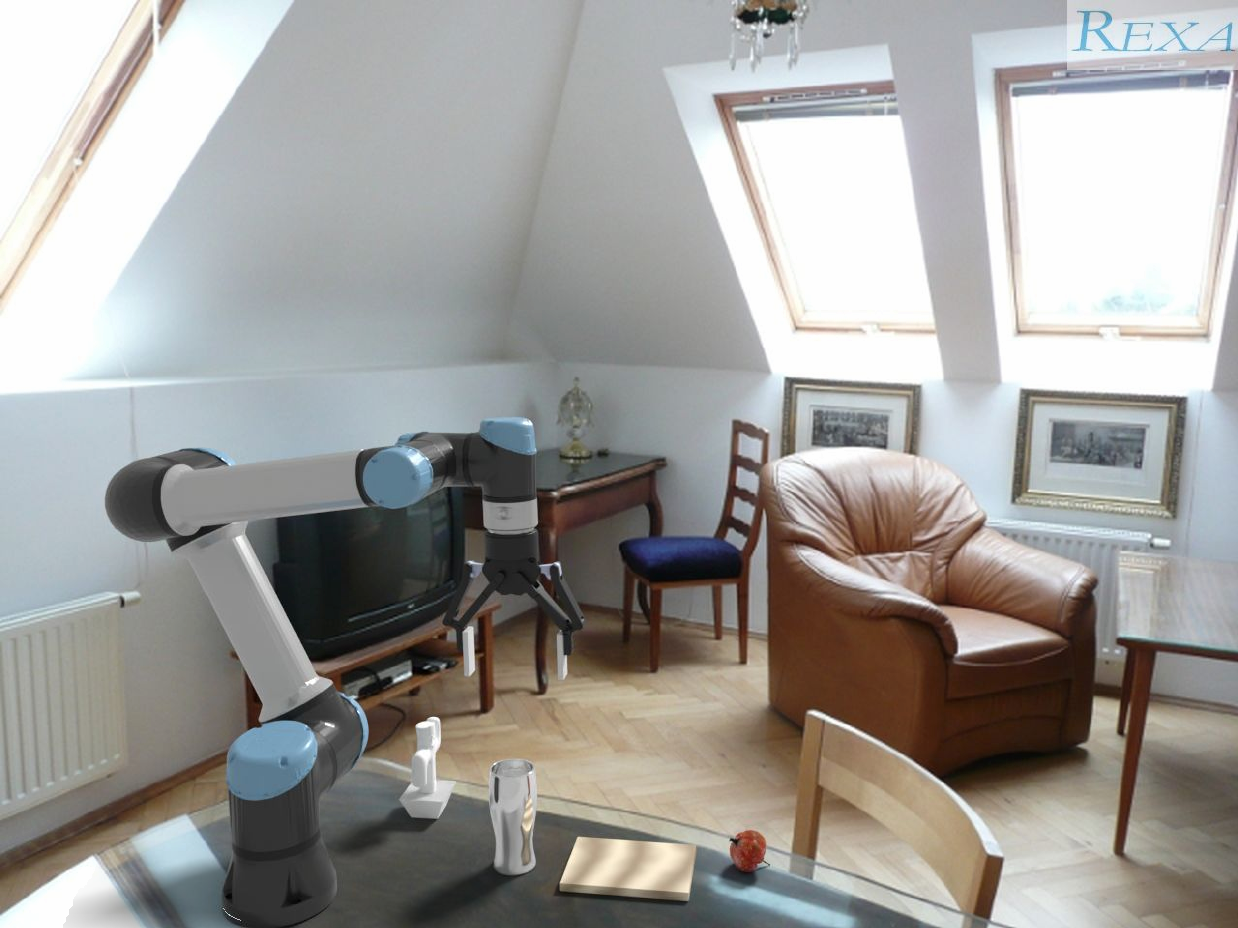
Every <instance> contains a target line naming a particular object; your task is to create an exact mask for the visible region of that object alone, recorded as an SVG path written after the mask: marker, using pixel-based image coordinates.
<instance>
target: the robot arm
mask: <svg viewBox="0 0 1238 928" xmlns="http://www.w3.org/2000/svg"><path fill="white" fill-rule="evenodd" d="M447 487H448V488H450V487H471V488H472V487H473V488H475V487H481V490H482V491H481V492H482V493H481V494H482V511H483V512H482V514H483V527H484V528H486V529H487V530H485V532H484V533H483V542H484V545H483V546H484V562H482V563H481V562H476V561H475V560H474V559H469V560H467V561H466V562H465V563H464V564H463V565H462V571H461V579H460V582H459V583H458V586H457V588H456V590H455V593H454V595H453V597H452V599H451V602H450V604H449V606H448V608H447V611H446V612H445V615H444V617H443V619H442V624H443V626H445V627H451V628H453V629H454V631H455V633H456V635H455V637H456V650H457V652H458V653H463V671H464V672H463V676H464V677H470V676H472V674H473V673H474V672H475V671H476V659H475V657H476V656H475V636H474V626H470V625H469V623H470V622H471V621H472V620H473V618H474V617H475V616H476V615H477V613H479V611H480V610H481V609H482V608H483V606H484V605H485V604H486V603H487V601H488V600H489V599H490V598H491V597H492V595H493V594H494V593H495V592H497V593H498V594H500V596H509V595H513V596H514V595H515V596H522V597H523V595H525V594H527V595H528V596H529V597H530V599H532V600H534V601H535V602H536V604H537V605H538V606H539V607H540V608H541V609H542V611H543V612H544V613H545V614H546V615H547V616H548V618H549V619H550V620H551V621H552V622H553V624H555V626H557V628H558V630H559V631H558V633H557V634H556V650H557V651H556V655H557V657H556V658H557V680H558V681H564V680H565V678H566V676H567V675H568V657H567V656H572V654H573V652H574V647H575V646H574V645H575V644H574V632H576V631H577V632H578V631H581V630H583V628H584V627H585V625H586V623H587V620H586V619H587V618H586V617H585V615H584V613H583V611H582V610H581V608H580V605H579V604H578V602H577V600H576V598H575V596H574V594H573V593H572V590H571V589H570V586H569V585H568V582H567V581H566V579H565V577H564V574H563V565H562V563H561V562H560V561H559V560H556V561H554V562H553V563H547V564H542V563H541V561H540V555H539V551H540V550H539V549H540V547H539V531H538V530H537V528H536V526H537V525H538V523H539V519H538V499H537V498H538V497H537V448H536V439H535V429H534V424H533V422H532V421H531V420H530V419H529V418H527V417H517V416H504V417H500V416H499V417H490V418H489V417H488V418H485V419H483V420H481V421H480V423H479V429H478V431H476V432H468V433H467V432H429V431H420V432H410V433H404V434H401V435H400V436H399V437H398V438H397V442H395V444H393V445H388V446H380V447H372V448H367V449H357V450H349V451H341V452H333V453H324V454H317V455H306V456H300V457H291V458H283V459H274V460H266V461H258V462H250V463H242V464H237V463H236V462H235V461H234V460H233V459H232V458H231V457H230V456H229V455H227V454H225V453H224V452H222V451H220V450H216V449H213V448H210V447H185V448H180V449H178V450H175V451H170V452H167V453H163V454H159V455H155V456H151V457H147V458H142V459H138V460H137V459H136V460H134V461H132V462H130V463H128V464H126V465H125V466H123V467H122V468H120V469H119V470H118V471H117V472H116V473H115V474H114V475H113V477H112V478H111V480H110V481H109V483H108V485H107V487H106V490H105V496H104V508H105V512H106V516H107V517H108V521H110V523H111V525H112V526H113V527H114V528H115V529H116V530H117V531H118V532H119V533H120V534H121V535H123V536H125V537H127V538H128V539H130V540H134V541H137V542H141V543H155V542H156V543H157V542H162V541H165V542H166V543H167V546H168V548H169V549H170V551H171V553H172V555H174V556H177V557H181V558H183V559H186V560H187V561H188V562H189V564H190V565H191V568H192V569H193V571H194V573H195V576H196V577H197V580H198V581H199V583H200V585H201V588H203V589H202V590H203V591H204V593H205V594H206V597H207V598H208V601H209V603H210V604H211V607H212V608H213V610H214V612H215V614H216V616H217V618H218V620H219V621H220V624H221V626H222V628H223V629H224V631H225V634H226V635H227V637H228V639H229V641H230V643H231V645H232V647H233V649H234V651H235V653H236V655H237V656H238V658H239V660H240V663H241V664H242V665H241V666H242V667H243V669H244V671H245V672H246V674H247V676H248V678H249V680H250V682H251V684H252V686H253V688H254V689H255V692H256V693H257V695H258V697H259V700H260V702H261V703H262V708H261V711H260V714H259V717H258V721H259V723H260V725H261V726H260V727H253V728H251V729H249V730H246V731H245V732H244V733H242V734H240V736H238V737H237V738H236V739H235V740H234V741H233V742H232V744H231V745H230V747H229V749H228V751H227V755H226V769H225V782H226V786H227V798H228V808H229V809H228V811H229V822H230V834H231V836H230V837H231V846H232V847H231V853H232V854H231V856H230V862H229V864H228V869H227V872H226V875H225V879H224V882H223V886H222V890H221V906H222V905H223V906H222V913H223V916H224V918H225V919H227V920H228V921H229V922H230V923H231V924H234V925H236V926H240V927H242V928H283V927H286V926H291V925H295V924H298V923H301V922H303V921H305V920H308V919H310V918H312V917H314V916H316V915H317V914H319V913H320V912H322V911H324V910H325V909H326V908H327V907H328V906H329V905H330V904H331V903H332V902H333V901H334V899H335V898H336V895H337V893H338V884H337V883H338V881H337V880H338V879H337V872H336V868H335V866H334V863H333V862H332V860H331V858H330V855H329V852H328V850H327V848H326V845H325V843H324V841H323V838H322V832H321V831H322V829H321V813H320V812H321V811H320V809H321V808H320V803H321V802H320V801H321V799H322V798H323V797H324V796H325V795H326V794H327V793H328V792H329V791H330V790H331V789H332V788H333V787H334V786H335V785H336V784H337V783H338V782H339V780H340V779H342V778H343V776H345V775H347V774H348V773H349V772H350V771H351V770H353V768H354V767H355V766H356V764H357V763H358V761H359V760H360V757H362V755H363V753H364V752H365V749H366V746H367V744H368V740H369V724H368V720H367V716H366V713H365V712H364V710H363V708H362V706H361V705H360V704H359V703H358V702H357V700H355V699H354V698H353V697H352V696H350V697H349V696H346V694H345V693H343V692H339V691H338V690H337V688H336V686H335V683H334V682H333V681H332V680H331V679H329V678H325V677H323V676H320V675H318V673H316V670H315V668H314V666H313V665H312V662H311V660H310V659H309V656H308V655H307V653H306V650H305V649H304V647H303V645H302V643H301V641H300V638H299V637H298V635H297V633H296V631H295V629H294V627H293V625H292V623H291V622H290V619H289V617H288V616H287V613H286V611H285V609H284V608H283V605H282V604H281V601H280V600H279V598H278V595H277V594H276V592H275V590H274V588H273V586H272V584H271V582H270V579H269V578H268V575H267V574H266V572H265V570H264V568H263V567H262V564H261V563H260V560H259V558H258V556H257V555H256V552H255V551H254V549H253V547H252V544H251V543H250V541H249V539H248V537H247V535H246V529H247V526H248V523H249V522H250V521H257V520H267V519H275V518H283V517H292V516H301V515H302V516H303V515H311V514H318V513H327V512H335V511H344V510H352V509H353V510H354V509H362V508H371V507H372V508H373V507H383V508H387V509H391V510H392V509H393V510H395V509H401V508H405V507H409V506H414V505H415V504H417V503H418V502H421V500H422V499H424V498H426V497H428V496H430V495H432V494H433V493H435V492H437V491H439V490H441V489H443V488H447ZM480 573H482V574H483V576H484V577H485V579H487V581H488V582H489V583H488V584H487V585H486V587H485V588H484V589H483V590H482V591H481V592H480V594H479V595H478V597H477V598H476V599H475V600H474V601H473V602H472V604H471V605H470V606H469V608H468V609H467V610H466V611H465V612H464V614H463V615H461V617H459V616H458V615H459V612H460V610H461V608H462V607H463V604H464V601H465V600H466V598H467V596H468V593H469V591H470V589H471V587H472V585H473V582H474V579H476V578H477V577H478V576H479V575H480ZM542 574H544V575H545V577H546V579H547V580H549V581H551V585H552V587H553V590H554V591H555V593H556V594H557V597H558V598H559V600H560V602H561V604H562V607H564V610H565V612H564V611H563V609H561V607H560V606H559V605H558V604H557V603H556V601H555V600H554V599H553V597H551V596H550V594H548V592H547V591H546V589H545V588H544V586H543V585H542V583H541V582H540V581H539V580H538V579H539V578H540V576H541V575H542ZM468 625H469V626H468ZM223 908H224V909H225V910H224V909H223ZM225 911H226V912H227V913H228V914H230V915H231V916H233V917H235V918H237V919H240V920H241V921H240V920H237V919H235V918H233V917H231V916H229V915H228V914H227V913H226V912H225Z"/></svg>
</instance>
